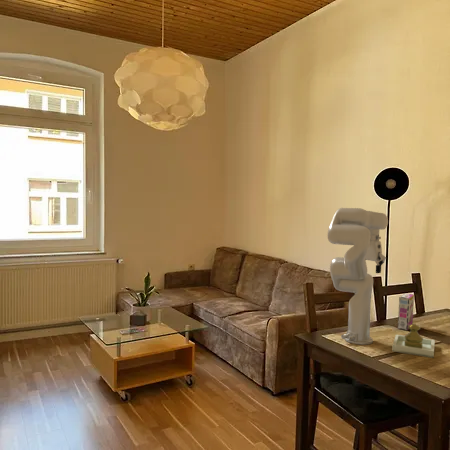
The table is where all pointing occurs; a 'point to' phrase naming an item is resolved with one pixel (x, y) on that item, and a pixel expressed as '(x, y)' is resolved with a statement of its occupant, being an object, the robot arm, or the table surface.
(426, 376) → the table surface
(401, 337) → the tray
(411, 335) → the brass door knob
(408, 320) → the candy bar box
